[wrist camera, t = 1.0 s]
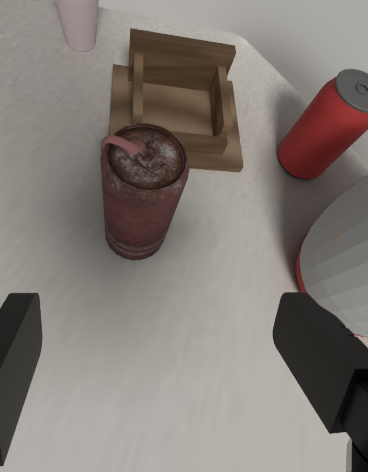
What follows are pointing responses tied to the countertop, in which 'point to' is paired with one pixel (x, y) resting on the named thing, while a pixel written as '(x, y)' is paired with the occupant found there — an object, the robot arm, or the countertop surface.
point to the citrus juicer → (339, 259)
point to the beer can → (327, 125)
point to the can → (141, 187)
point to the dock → (181, 96)
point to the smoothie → (79, 22)
